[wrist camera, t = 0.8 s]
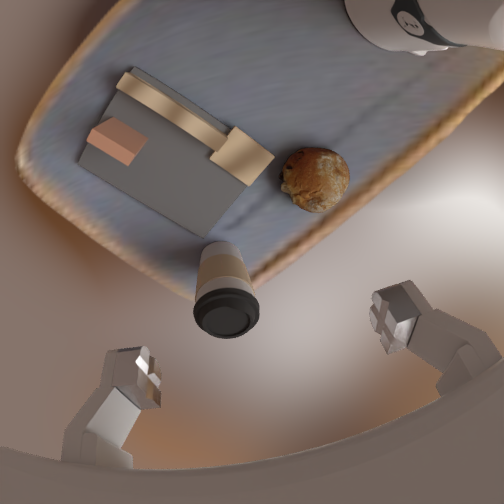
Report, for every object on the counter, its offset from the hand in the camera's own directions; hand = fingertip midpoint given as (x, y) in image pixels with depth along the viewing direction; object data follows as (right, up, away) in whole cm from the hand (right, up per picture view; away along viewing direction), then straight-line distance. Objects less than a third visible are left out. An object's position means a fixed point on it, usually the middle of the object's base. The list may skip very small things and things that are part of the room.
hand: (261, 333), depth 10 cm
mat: (-12, +16, +28) cm, 35 cm away
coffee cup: (-6, +2, +40) cm, 40 cm away
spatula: (-8, +20, +25) cm, 33 cm away
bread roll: (+9, +15, +33) cm, 37 cm away
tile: (-17, +19, +24) cm, 35 cm away
